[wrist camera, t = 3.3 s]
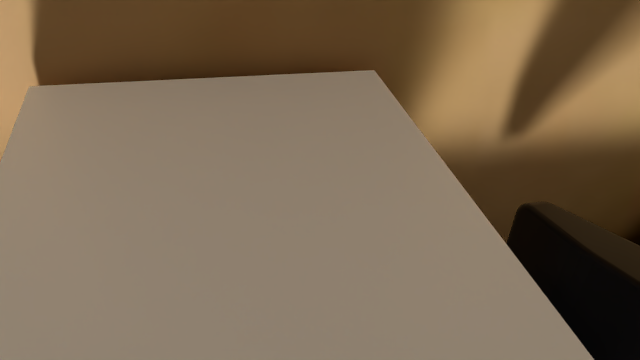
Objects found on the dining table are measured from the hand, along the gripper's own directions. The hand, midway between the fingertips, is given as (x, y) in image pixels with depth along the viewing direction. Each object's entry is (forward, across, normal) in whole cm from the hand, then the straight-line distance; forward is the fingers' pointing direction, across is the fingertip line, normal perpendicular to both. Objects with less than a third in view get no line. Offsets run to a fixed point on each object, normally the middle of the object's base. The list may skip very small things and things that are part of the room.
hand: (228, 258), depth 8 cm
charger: (+1, 0, +1) cm, 2 cm away
